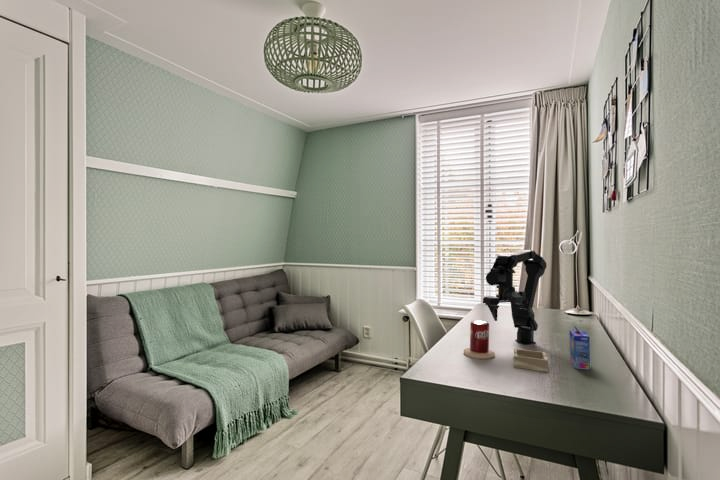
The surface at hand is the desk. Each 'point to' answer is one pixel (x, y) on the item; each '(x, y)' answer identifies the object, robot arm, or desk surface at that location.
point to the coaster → (479, 356)
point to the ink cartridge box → (579, 349)
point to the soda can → (479, 337)
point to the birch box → (530, 360)
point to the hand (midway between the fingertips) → (504, 320)
